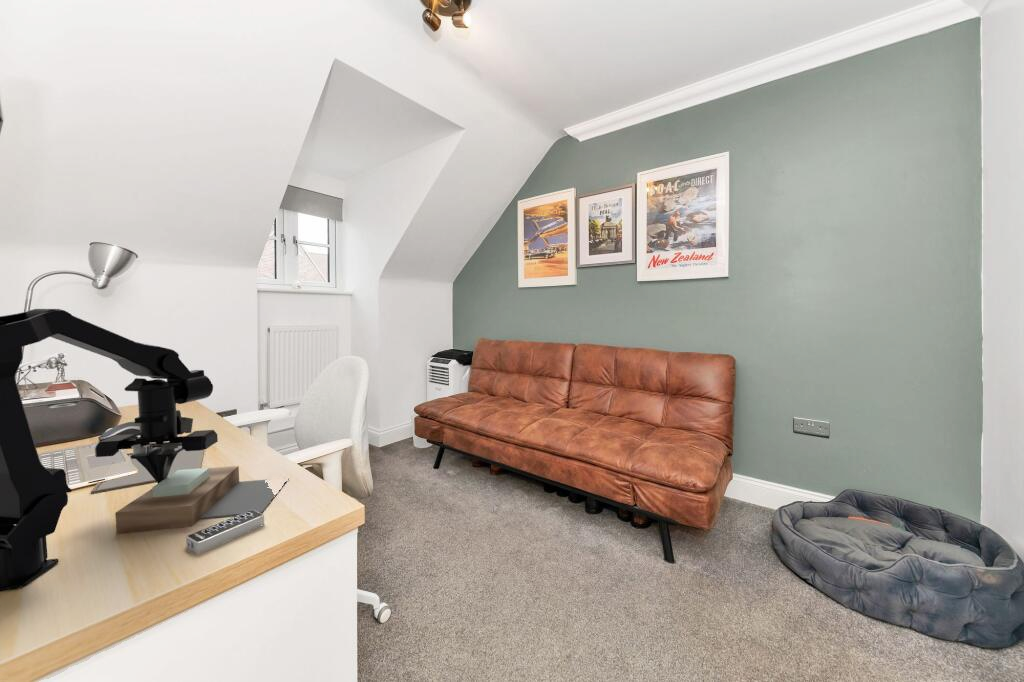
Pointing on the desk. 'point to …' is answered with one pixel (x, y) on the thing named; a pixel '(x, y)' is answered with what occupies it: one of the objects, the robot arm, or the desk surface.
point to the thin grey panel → (144, 477)
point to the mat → (242, 500)
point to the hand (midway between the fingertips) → (161, 482)
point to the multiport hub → (224, 531)
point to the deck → (176, 504)
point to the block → (181, 482)
